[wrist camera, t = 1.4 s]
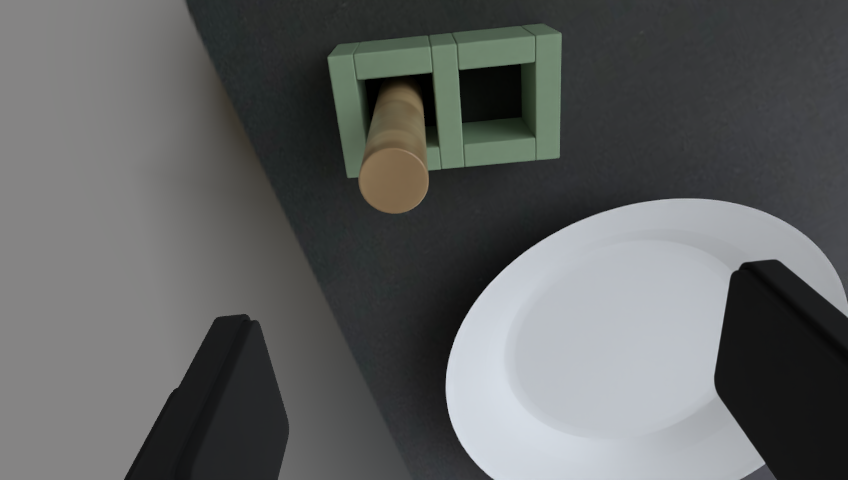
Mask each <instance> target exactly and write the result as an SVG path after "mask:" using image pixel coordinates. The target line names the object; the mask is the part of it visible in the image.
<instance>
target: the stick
mask: <svg viewBox="0 0 848 480" xmlns="http://www.w3.org/2000/svg"><path fill="white" fill-rule="evenodd" d="M358 181H359V188H360V191H361V193H362V195H363V197H364V198H365V200H366V201H367V202H368V203H369V204H370V205H371V206H372V207H374V208H376V209H378V210H380V211H382V212H386V213H403V212H406V211H409V210H411V209H413V208H414V207H416V206H417V205H418V204H419V203H420V202H421V201H422V200H423V198H424V197H425V195H426V193H427V190H428V185H429V176H428V162H427V149H426V136H425V123H424V109H423V96H422V90H421V87H420V85H419V84H418V82H417V81H416V80H415V79H414V78H412V77H410V76H408V75H404V76H394V77H388V78H387V79H386V80H385V81H384V82H383V83H382V85H381V86H380V89H379V93H378V97H377V101H376V105H375V109H374V114H373V118H372V122H371V126H370V130H369V134H368V138H367V143H366V147H365V151H364V155H363V159H362V163H361V168H360V172H359V179H358Z"/></svg>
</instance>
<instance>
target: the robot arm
mask: <svg viewBox="0 0 848 480" xmlns="http://www.w3.org/2000/svg"><path fill="white" fill-rule="evenodd" d="M714 385H715V389H716V392H717V394H718V396H719V397H720V399H721V400H722V402H723V403H724V405H725V406H726V407H727V409H728V410H729V412H730V413H731V415H732V416H733V417H734V419H735V420H736V422H737V423H738V425H739V426H740V427H741V429H742V430H743V432H744V433H745V435H746V436H747V437H748V439H749V440H750V442H751V443H752V445H753V446H754V447H755V449H756V450H757V452H758V453H759V455H760V456H761V457H762V459H763V460H764V462H765V463H766V465H767V466H768V467H769V469H770V470H771V472H772V473H773V475H774V476H775V477H776V479H777V480H848V317H847V316H846V315H844V314H843V313H842V312H841V311H840V310H838V309H837V308H836V307H835V306H834V305H832V304H831V303H830V302H829V301H827V300H826V299H825V298H824V297H823V296H821V295H820V294H819V293H818V292H817V291H815V290H814V289H813V288H812V287H811V286H809V285H808V284H807V283H806V282H805V281H803V280H802V279H801V278H800V277H799V276H797V275H796V274H795V273H794V272H792V271H791V270H790V269H789V268H788V267H786V266H785V265H784V264H783V263H782V262H780V261H778V260H777V259H770V260H760V261H751V262H744V263H742V264H741V266H740V267H739V270H735V271H734V272H733V273H732V274H731V277H730V282H729V288H728V294H727V300H726V306H725V312H724V318H723V324H722V331H721V337H720V343H719V349H718V355H717V361H716V367H715V373H714ZM288 435H289V424H288V418H287V415H286V411H285V408H284V404H283V401H282V398H281V394H280V391H279V388H278V384H277V381H276V378H275V374H274V371H273V367H272V364H271V360H270V357H269V353H268V350H267V347H266V344H265V340H264V337H263V333H262V330H261V326H260V324H259V322H258V321H257V320H253V321H251V320H250V318H249V316H248V315H246V314H241V315H231V316H222V317H217V318H216V319H215V320H214V322H213V324H212V326H211V328H210V329H209V331H208V333H207V335H206V337H205V339H204V341H203V342H202V345H201V346H200V348H199V350H198V352H197V354H196V355H195V357H194V359H193V361H192V363H191V365H190V367H189V369H188V370H187V372H186V374H185V376H184V378H183V380H182V382H181V384H180V385H179V387H178V388H176V389H174V390H173V392H172V393H171V394H170V396H169V398H168V399H167V401H166V403H165V405H164V407H163V409H162V410H161V412H160V414H159V416H158V418H157V420H156V422H155V423H154V425H153V427H152V429H151V431H150V433H149V435H148V436H147V438H146V440H145V442H144V444H143V446H142V447H141V449H140V451H139V453H138V455H137V457H136V458H135V460H134V462H133V464H132V466H131V468H130V469H129V472H128V473H127V475H126V477H125V479H124V480H278V476H279V472H280V468H281V464H282V460H283V456H284V452H285V448H286V444H287V440H288Z"/></svg>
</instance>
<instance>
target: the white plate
mask: <svg viewBox="0 0 848 480" xmlns="http://www.w3.org/2000/svg"><path fill="white" fill-rule="evenodd" d="M770 259H777V260H778V261H780V262H782V263H783V264H784V265H785V266H786V267H788V268H789V269H790V270H791V271H792V272H794V273H795V274H796V275H797V276H799V277H800V278H801V279H802V280H803V281H805V282H806V283H807V284H808V285H809V286H811V287H812V288H813V289H814V290H815V291H817V292H818V293H819V294H820V295H821V296H823V297H824V298H825V299H826V300H827V301H829V302H830V303H831V304H832V305H834V306H835V307H836V308H837V309H838V310H840V311H841V312H842V313H843V314H844V315H846V316H847V317H848V304H847V299H846V295H845V292H844V289H843V286H842V284H841V281H840V279H839V277H838V275H837V273H836V271H835V269H834V268H833V266H832V264H831V263H830V261H829V260H828V259H827V257H826V256H825V255H824V254H823V252H822V251H821V250H820V249H819V248H818V247H817V246H816V245H815V244H814V243H813V242H812V241H811V240H810V239H809V238H808V237H806V236H805V235H804V234H803V233H801V232H800V231H799V230H797V229H796V228H794V227H793V226H791V225H789V224H788V223H786V222H784V221H782V220H780V219H778V218H776V217H774V216H772V215H770V214H768V213H765V212H762V211H760V210H757V209H754V208H751V207H747V206H743V205H739V204H735V203H730V202H724V201H718V200H708V199H665V200H656V201H648V202H642V203H637V204H632V205H627V206H623V207H619V208H615V209H612V210H609V211H605V212H602V213H599V214H596V215H593V216H591V217H588V218H586V219H583V220H581V221H578V222H576V223H574V224H572V225H570V226H567V227H565V228H563V229H561V230H559V231H558V232H556V233H554V234H552V235H550V236H549V237H547V238H545V239H544V240H542V241H540V242H539V243H537V244H536V245H534V246H533V247H531V248H530V249H529V250H527V251H526V252H524V253H523V254H522V255H520V256H519V257H518V258H517V259H515V260H514V261H513V262H512V263H511V264H509V265H508V266H507V267H506V268H505V269H504V270H503V271H502V272H501V273H500V274H499V275H498V276H497V277H496V278H495V279H494V280H493V281H492V282H491V283H490V284H489V285H488V286H487V288H486V289H485V290H484V291H483V292H482V294H481V295H480V296H479V297H478V299H477V300H476V302H475V303H474V304H473V306H472V307H471V309H470V311H469V312H468V314H467V316H466V317H465V319H464V321H463V323H462V325H461V327H460V329H459V331H458V333H457V336H456V338H455V341H454V343H453V346H452V350H451V353H450V357H449V361H448V367H447V374H446V399H447V406H448V411H449V415H450V419H451V422H452V425H453V428H454V430H455V432H456V435H457V437H458V439H459V440H460V442H461V444H462V446H463V447H464V449H465V450H466V452H467V453H468V454H469V456H470V457H471V458H472V459H473V460H474V462H475V463H476V464H477V465H478V466H479V467H480V468H481V469H482V470H483V471H484V472H485V473H487V474H488V475H489V476H490V477H491V478H493V479H494V480H740V479H741V478H743V477H745V476H747V475H748V474H750V473H752V472H753V471H755V470H756V469H758V468H760V467H761V466H763V465H764V464H765V462H764V460H763V459H762V457H761V456H760V455H759V453H758V452H757V450H756V449H755V447H754V446H753V445H752V443H751V442H750V440H749V439H748V437H747V436H746V435H745V433H744V432H743V430H742V429H741V427H740V426H739V425H738V423H737V422H736V420H735V419H734V417H733V416H732V415H731V413H730V412H729V410H728V409H727V407H726V406H725V405H724V403H723V402H722V400H721V399H720V397H719V396H718V394H717V392H716V389H715V385H714V373H715V367H716V361H717V355H718V349H719V343H720V337H721V331H722V324H723V318H724V312H725V306H726V300H727V294H728V288H729V282H730V277H731V274H732V273H733V272H734V271H735V270H739V267H740V266H741V264H742V263H744V262H751V261H760V260H770Z"/></svg>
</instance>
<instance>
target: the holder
mask: <svg viewBox="0 0 848 480" xmlns="http://www.w3.org/2000/svg"><path fill="white" fill-rule="evenodd" d="M327 60H328V66H329V72H330V78H331V84H332V90H333V96H334V102H335V108H336V114H337V120H338V126H339V132H340V137H341V143H342V149H343V155H344V161H345V167H346V173H347V177H348V178H355V177H359V172H360V168H361V163H362V159H363V155H364V151H365V147H366V143H367V138H368V134H369V130H370V126H371V120H370V113H369V106H368V98H367V91H366V84H365V79H374V78H384V77H394V76H404V75H414V74H424V73H431V72H432V84H433V95H434V107H435V118H436V126H426V127H425V136H426V149H427V162H428V170H439V169H448V168H458V167H464V165H465V167H469V166H480V165H490V164H501V163H511V162H521V161H532V160H535V159H536V160H543V159H554V158H559V153H560V91H561V33H560V32H558V31H556V30H554V29H552V28H550V27H548V26H546V25H545V24H533V25H523V26H521V27H520V26H514V27H504V28H495V29H485V30H475V31H465V32H456V33H452V35H451V33H446V34H436V35H429V37H428V36H417V37H407V38H397V39H387V40H378V41H368V42H361V43H348V44H339V45H337V46H336V47H335V49H334V50H333V51H332V52H331V54H330V55H329V56H328V58H327ZM513 64H521V91H522V118H521V117H518V118H508V119H498V120H488V121H477V122H467V123H462V120H461V104H460V89H459V73H458V69H459V70H464V69H474V68H484V67H494V66H503V65H513Z"/></svg>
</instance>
